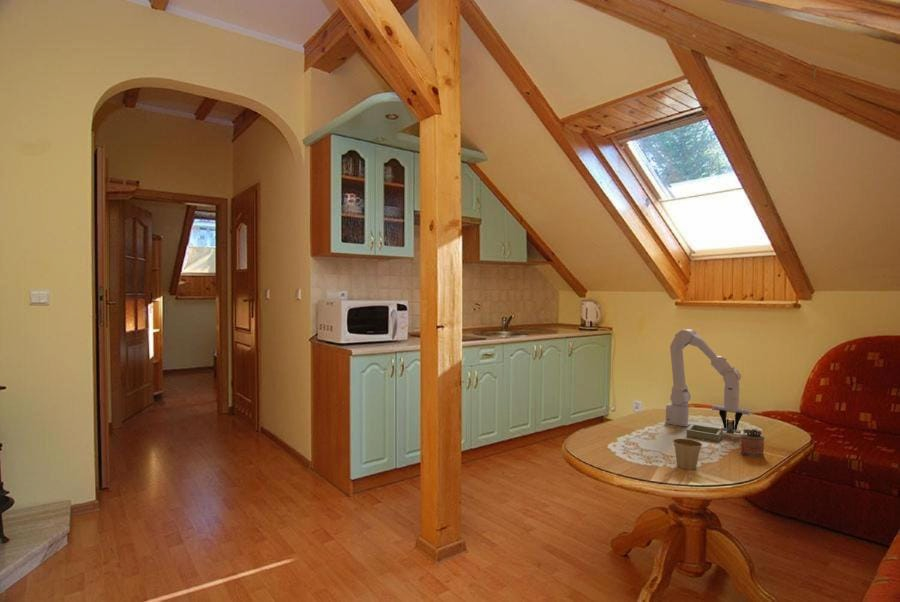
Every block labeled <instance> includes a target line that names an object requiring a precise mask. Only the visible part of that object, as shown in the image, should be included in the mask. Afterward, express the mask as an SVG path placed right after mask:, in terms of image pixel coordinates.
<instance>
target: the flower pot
mask: <svg viewBox="0 0 900 602" xmlns="http://www.w3.org/2000/svg"><path fill="white" fill-rule="evenodd" d="M672 442H673V446H674V449H675V450H674V452H675V461H676V466H677V467H679V468H680V469H683V470H689V471H690V470H697V466H698V461H699V455H700V453H701V452H700V451H701V450H702V447H703V443H701V442H700V441H697V440H694V439H690V438H674V439H672Z"/></svg>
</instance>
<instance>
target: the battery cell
mask: <svg viewBox="0 0 900 602" xmlns="http://www.w3.org/2000/svg"><path fill="white" fill-rule="evenodd" d="M734 427H735V418H734V419H733V418H726V430H725V432H727V433H733V434H735V432H734Z"/></svg>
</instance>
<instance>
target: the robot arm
mask: <svg viewBox="0 0 900 602" xmlns="http://www.w3.org/2000/svg"><path fill="white" fill-rule="evenodd" d="M688 345H689V346H693V347H697V348H698V349H699V350H700V351H701V352H702V353H703V354H704V355H705V356H706V357H707V358H708V359H709V360H710V365H711V366H712V367H713V368H714V369H715V370H716V371H717V372H718V374H719V375H720V376H722V378H723V379H722V381H723V382H724V387H723V388H724V391H723V405H715V404H712V406H711V411H717V412H718V411H719V412H718V414H719V416H720V419H721V421H722V424H723V427H724V428H725V429H726V426H727V417H728V416H727V414H728V413H731V414H733V413H734V420H735V422H734V430H737V429H738V426H739V423H740V421H741V419H742V417H743V415H747V416H751V410H750V409H745V408H740V407H739V405H740V403H739V402H740V380H741V379H742V375H741V373H740V371H739V370H738V369H735V367H734V366H732V365H730V363H729V362H728V358H726V357H723V356H721V355H717V354H716V352H715V351H714V350H713V349H712V348H711V347H710V345H709V344H708V343H707V342H706V341H705V340H704V339H703V337H702V336H701V335H700V334H699V333H697V331H695V329H692V328H687V329H681V330H679V331H678V332H676V333H675V334H674V337H673V340H672V341H671V343H670V346H669V349H670V350H669V351H670V359H671V360H670V361H671V370H672V371H671V373H672V382H673V384H672V387H671V393H670V397H669V398H670V399H669V400H670V401H671V403H667V404H666V407H665V422H664V424H667V425H674V426H681V427H688V426H689V425H690V424H691V422H690V421H689V411H690V407H689V405H690V404H689V401H690V399H691V393H690V392H689V390H688V385H687V384H686V375H685V363H684V362H685V361H684V352H683V350H684V349H685V348H686V347H687V346H688Z"/></svg>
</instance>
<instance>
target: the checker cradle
mask: <svg viewBox="0 0 900 602" xmlns="http://www.w3.org/2000/svg"><path fill="white" fill-rule="evenodd" d="M718 428H720V429H723V436H727V435H728V436H729V437H734V438H740V439H742V437H741V435H745V433H744V432H743V430H744V429H738V428H737V430H734V434H733V433H727V432H726V429H725V428H724V426H718ZM739 432H740V433H739ZM737 433H739V434H737Z"/></svg>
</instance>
